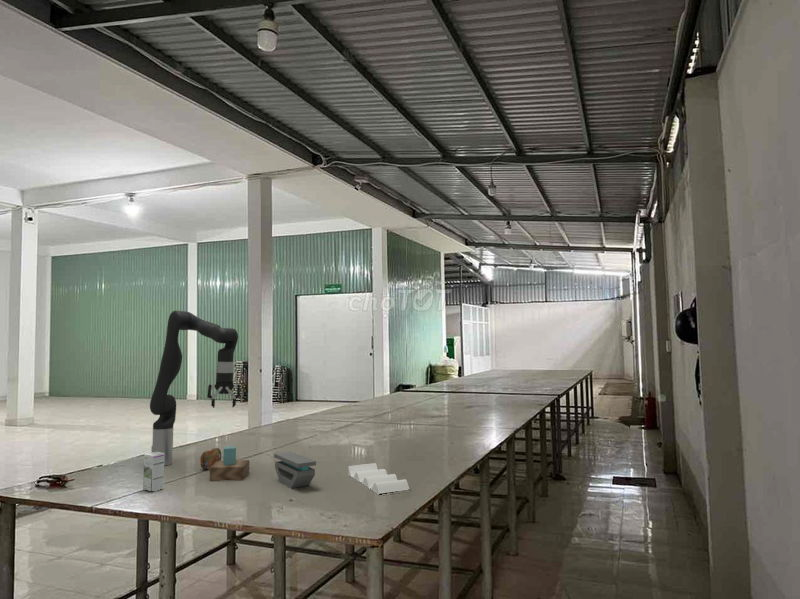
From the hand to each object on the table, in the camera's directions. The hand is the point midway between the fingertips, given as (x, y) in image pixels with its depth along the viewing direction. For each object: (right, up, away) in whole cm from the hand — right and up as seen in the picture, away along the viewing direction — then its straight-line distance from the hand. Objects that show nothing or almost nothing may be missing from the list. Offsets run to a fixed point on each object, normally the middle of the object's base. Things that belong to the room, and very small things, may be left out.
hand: (223, 407), depth 255 cm
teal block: (+6, -23, -10) cm, 25 cm away
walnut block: (+6, -29, -10) cm, 31 cm away
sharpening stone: (+37, -28, -23) cm, 51 cm away
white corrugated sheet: (+72, -28, -23) cm, 80 cm away
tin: (-9, -30, +9) cm, 33 cm away
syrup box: (-18, -27, -31) cm, 45 cm away
